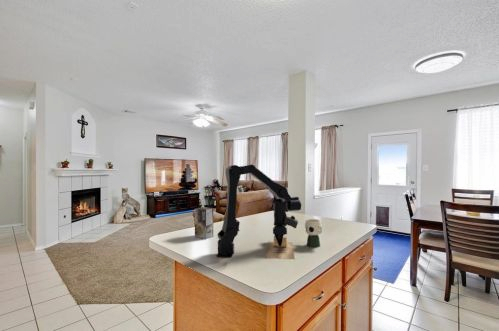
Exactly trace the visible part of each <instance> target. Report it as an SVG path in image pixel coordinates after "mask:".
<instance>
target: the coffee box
mask: <svg viewBox="0 0 499 331" xmlns="http://www.w3.org/2000/svg"><path fill="white" fill-rule="evenodd" d="M194 237H195V238H200V239H204V240H207V239H210V238H213V237H214V208H213V207H204V206H202V207H197V208H194Z"/></svg>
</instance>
